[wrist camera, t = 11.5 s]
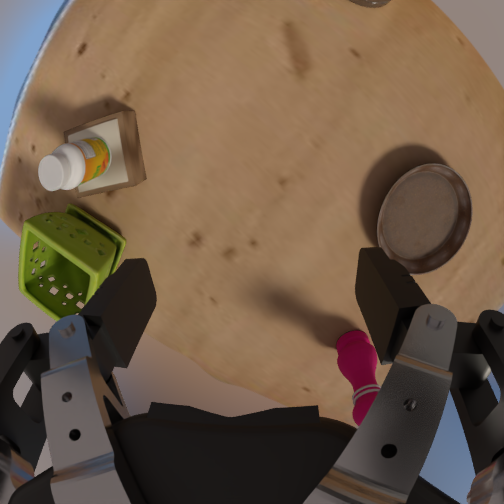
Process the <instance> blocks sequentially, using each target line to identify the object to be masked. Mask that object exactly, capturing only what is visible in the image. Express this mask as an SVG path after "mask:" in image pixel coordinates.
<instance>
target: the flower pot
mask: <svg viewBox="0 0 504 504" xmlns="http://www.w3.org/2000/svg"><path fill="white" fill-rule="evenodd" d="M37 241H38V247H36V248H35V249H34V250H33V245H34V244H35V243H36V242H37ZM125 244H126V239H125V238H124V237H123V236H121V235H120V234H118V233H117V232H115V231H114V230H112V229H111V228H109V227H108V226H106V225H105V224H103V223H102V222H100V221H99V220H97V219H95V218H94V217H92V216H91V215H89V214H88V213H86V212H85V211H84V210H82V209H80V208H79V207H77V206H76V205H74V204H70V203H69V204H68V205H67V208H66V211H65V213H61V212H50V213H44V214H40V215H37V216H34V217H32V218H30V219H28V220H26V221H25V222H24V225H23V230H22V236H21V244H20V254H19V272H18V279H19V280H18V281H19V290H20V292H21V293H22V294H23V295H24V296H26V297H27V298H28V299H29V300H30V301H31V302H32V303H34V304H35V305H36V306H37V307H39V308H40V309H41V310H42V311H43V312H45V313H46V314H47V315H49V316H50V317H51V318H53V319H54V320H56V321H58V320H60V319H61V318H63V317H66V316H69V315H75V314H76V313H80V311H81V310H82V309H83V308H82V309H80V308H79V307H78V306H77V305H76V304H77V302H79V301H80V302H82V303H83V304H84V306H85V305H86V303H87V302H88V301H89V299H90V298H91V297H92V295H94V293H95V291H96V290H97V289H98V288H99V286H100V285H101V284H102V283H103V281H104V280H105V279H106V278H107V277H109V276H110V275H111V274H113V273H114V272H115V270H116V268H117V265H118V263H119V260H120V258H121V255H122V253H123V250H124V247H125ZM43 247H45V248H44V250H43V251H42V249H43ZM37 258H38V260H37V261H36V262H35V260H36V259H37ZM30 259H31V260H30ZM43 261H45V265H44V266H42V267H40V265H41V262H43ZM33 268H35V272H34V273H33V274H31V273H32V270H33ZM39 277H42V278H41V279H39ZM50 277H54V279H55V280H54V281H52V282H50V281H49V280H48V278H50ZM40 284H41V285H43V286H42V287H40V286H39V285H40ZM64 285H66V286H67V288H64V287H63V286H64ZM52 287H55V288H56V289H58V290H59V291H58V292H57V294H55V295H53V294H52V293H50V292H49V291H50V289H51V288H52ZM68 293H70V294H71V295H73V296H74V297H73V298H72V299H68V298H67V297H66V295H67V294H68ZM79 293H82V295H80V296H79V295H78V294H79ZM62 303H66V305H63V304H62Z"/></svg>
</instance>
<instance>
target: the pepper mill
mask: <svg viewBox="0 0 504 504" xmlns="http://www.w3.org/2000/svg"><path fill="white" fill-rule="evenodd" d="M336 348H337V352H338V355H339V356H338V359H337V363H338V367H339V369H340V371H341V373H342V374H343V375H344V376H345V377H346V378H347V379H348V380H349V382H350V383H351V384H352V386H353V389H354V394H353V396H352V400H353V404H354V405H355V407H354V409H353V413H352V414H353V419H354V421H355V423H356V424H357V425H358V426H360V424H361V423H362V421H363V419H364V418H365V416H366V414H367V412H368V411H369V409H370V407H371V405H372V403H373V402H374V400H375V398H376V396H377V394H378V392H379V390H380V388H381V386H379V385H378V384H377V382H376V379H375V370H376V365H377V354H376V350H375V348H374V347H373V346H372V345H371V344H370V341H369V339H368V336H367V335H366V333H364V332H362V331H358V330H356V331H350V332H348V333H345V334H344V335H342V336H341V337H340V338H339V340H338V341H337V344H336Z"/></svg>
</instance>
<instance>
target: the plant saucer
mask: <svg viewBox="0 0 504 504" xmlns="http://www.w3.org/2000/svg"><path fill="white" fill-rule="evenodd" d="M471 221H472V200H471V195H470V192H469V189H468V187H467V185H466V183H465V181H464V180H463V178H462V177H461V176H460V175H459V174H458V173H457V172H456V171H455V170H453V169H452V168H450V167H448V166H445V165H442V164H437V163H429V164H423V165H420V166H417V167H415V168H413V169H411V170H410V171H408V172H407V173H405V174H404V175H403V176H401V177H400V178H399V179H398V180H397V181H396V182H395V184H394V185H393V186H392V187H391V189H390V190H389V192H388V193H387V195H386V197H385V199H384V201H383V204H382V206H381V209H380V213H379V217H378V223H377V238H378V244H379V247H381V248H382V249H383V250H384V252H385V253H386V254H387V256H388V257H389V259H390V260H391V259H394V260H396V261H397V262H399V263H400V264H402V265H403V266H405V268H406V269H407V270H408V272H409V273H410V275H421V274H426V273H430V272H432V271H435V270H437V269H438V268H440V267H442V266H444V265H445V264H446V263H448V262H449V261H450V260H451V259H452V258H453V257H454V256H455V255H456V254H457V252H458V251H459V250H460V248H461V247H462V245H463V243H464V242H465V240H466V237H467V235H468V232H469V229H470V226H471Z"/></svg>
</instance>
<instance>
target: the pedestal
mask: <svg viewBox="0 0 504 504" xmlns="http://www.w3.org/2000/svg"><path fill="white" fill-rule="evenodd" d="M64 136H65V142H66V143H70V142H74V141H78V140H82V139H86V138H91V137H99V138H102V139H103V140H105V141H106V142H107V143H108V145H109V147H110V149H111V154H112V159H111V164H110V166H109V168H108V170H107V171H106V172H105V173H104V174H102V175H101V176H99V177H96V178H94V179H92V180H90V181H88V182H85V183H83V184H81V185H79V186H77V187H75V190H76V194H77V198H81V197H85V196H89V195H94V194H98V193H103V192H107V191H112V190H117V189H122V188H127V187H132V186H136V185H137V184H139V183H141V182H142V181H144V180H146V179H147V178H146V173H145V168H144V163H143V157H142V152H141V146H140V140H139V134H138V127H137V121H136V114H135V111H121V112H118V113H115V114H111V115H108V116H105V117H102V118H100V119H97V120H94V121H91V122H88V123H86V124H83V125H80V126H78V127H75V128H73V129H70V130H68V131H65V132H64Z"/></svg>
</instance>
